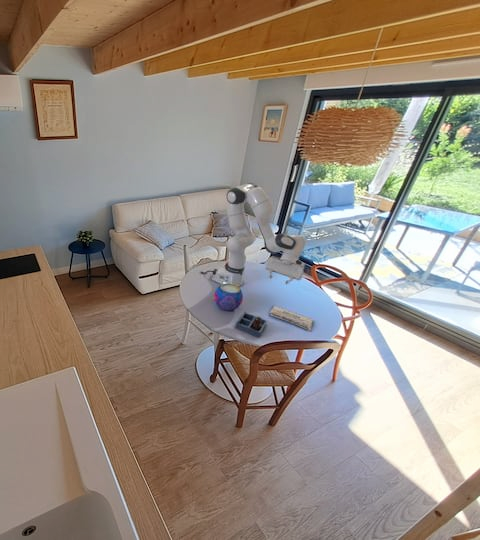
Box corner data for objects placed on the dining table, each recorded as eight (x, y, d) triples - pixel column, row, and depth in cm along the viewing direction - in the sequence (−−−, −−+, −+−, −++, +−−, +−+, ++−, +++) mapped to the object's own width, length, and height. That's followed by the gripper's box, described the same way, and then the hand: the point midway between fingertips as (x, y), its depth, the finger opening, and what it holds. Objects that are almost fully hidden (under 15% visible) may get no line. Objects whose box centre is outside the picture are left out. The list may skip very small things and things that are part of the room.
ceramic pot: (239, 301, 192) (244, 282, 185) (240, 317, 178) (245, 297, 170) (213, 296, 197) (216, 278, 190) (211, 312, 183) (215, 292, 175)
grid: (235, 327, 169) (236, 323, 168) (243, 316, 178) (244, 312, 177) (258, 337, 162) (260, 332, 160) (265, 325, 171) (267, 320, 169)
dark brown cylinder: (250, 330, 166) (254, 317, 161) (252, 327, 168) (256, 314, 163) (257, 333, 163) (261, 320, 158) (259, 330, 166) (263, 317, 161)
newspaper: (268, 315, 179) (269, 312, 178) (274, 308, 187) (275, 305, 186) (309, 331, 165) (310, 328, 164) (313, 323, 174) (314, 319, 173)
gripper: (270, 253, 173) (259, 272, 172) (307, 264, 161) (296, 285, 160) (270, 257, 178) (260, 276, 177) (307, 268, 166) (296, 289, 165)
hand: (278, 280), depth 168 cm, fingers open, 8 cm apart
